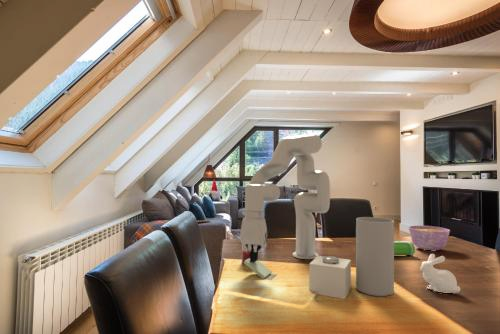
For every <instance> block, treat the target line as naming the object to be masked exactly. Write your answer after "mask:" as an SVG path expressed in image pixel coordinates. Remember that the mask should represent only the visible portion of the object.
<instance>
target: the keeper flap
mask: <svg viewBox="0 0 500 334" xmlns="http://www.w3.org/2000/svg"><path fill="white" fill-rule="evenodd" d="M243 265H246V266H247V267H248V268H249V269H250V270H252V271H253V272H254V273H255V274H256V275H258V276H259V277H260V278H262V279H265V278H266V279H267V278H268V277H269V276H271V275H272V274H273V272H272V271H271V269H269V268H268V266H265V265H264V264H263V263H261V262H260V261H259V259H258V260H257V261H256V262H250V258H249V259H247V260H245V261H244V264H243Z"/></svg>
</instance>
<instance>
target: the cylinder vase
mask: <svg viewBox="0 0 500 334" xmlns="http://www.w3.org/2000/svg"><path fill="white" fill-rule="evenodd" d="M355 220H356V221H355V222H356V223H355V244H356V245H355V288H356V289H357V290H358V291H359V292H361V293H363V294H365V295H368V296H372V295H373V296H372V297H374V296H375V297H388V295H389V296H391V295H393V294H394V292H395V257H394V241H395V220H394V219H390V218H385V217H376V216H375V217H374V216H373V217H371V216H362V217H361V216H360V217H356V219H355Z"/></svg>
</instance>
